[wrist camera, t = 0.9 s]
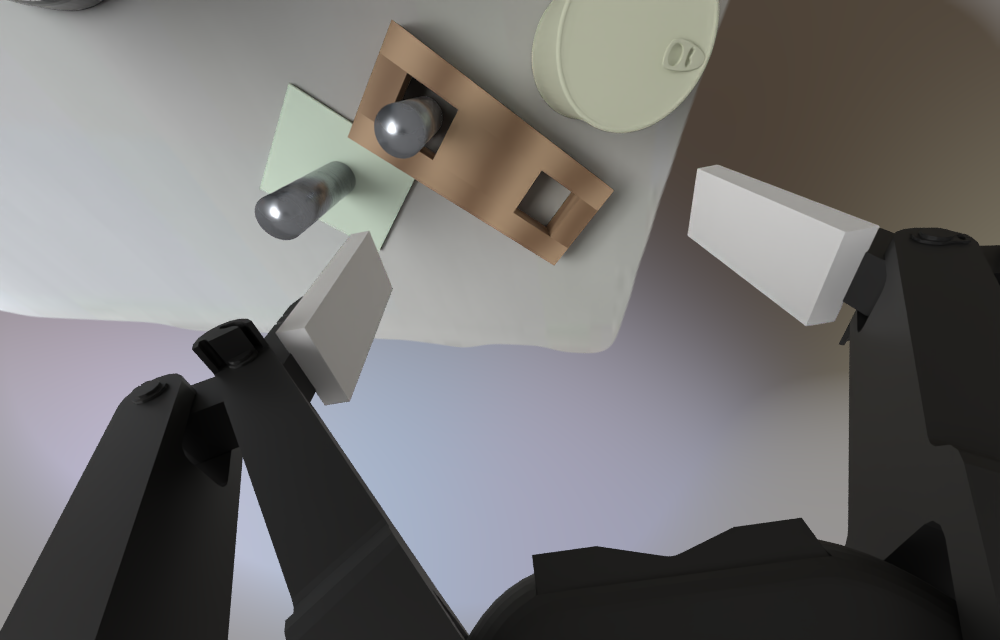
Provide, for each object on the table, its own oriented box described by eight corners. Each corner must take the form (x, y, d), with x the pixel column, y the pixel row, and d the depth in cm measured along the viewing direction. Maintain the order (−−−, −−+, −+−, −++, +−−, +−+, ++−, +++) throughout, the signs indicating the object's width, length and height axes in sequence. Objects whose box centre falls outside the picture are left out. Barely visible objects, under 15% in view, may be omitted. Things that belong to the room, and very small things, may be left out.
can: (617, 128, 33) (677, 148, 23) (520, 106, 31) (538, 117, 21) (661, -3, 28) (762, -51, 18) (548, -36, 26) (588, -108, 16)
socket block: (358, 132, 32) (347, 137, 29) (399, 25, 28) (391, 19, 25) (549, 253, 39) (554, 265, 37) (604, 182, 35) (614, 190, 33)
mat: (262, 187, 34) (259, 188, 34) (290, 83, 30) (288, 83, 29) (379, 249, 38) (378, 251, 38) (420, 166, 34) (420, 167, 33)
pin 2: (402, 121, 31) (366, 140, 22) (417, 88, 30) (386, 91, 20) (433, 142, 32) (411, 168, 23) (448, 110, 31) (433, 123, 21)
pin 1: (318, 183, 34) (250, 225, 24) (328, 154, 32) (260, 186, 22) (349, 200, 35) (296, 247, 25) (360, 173, 33) (308, 211, 23)
